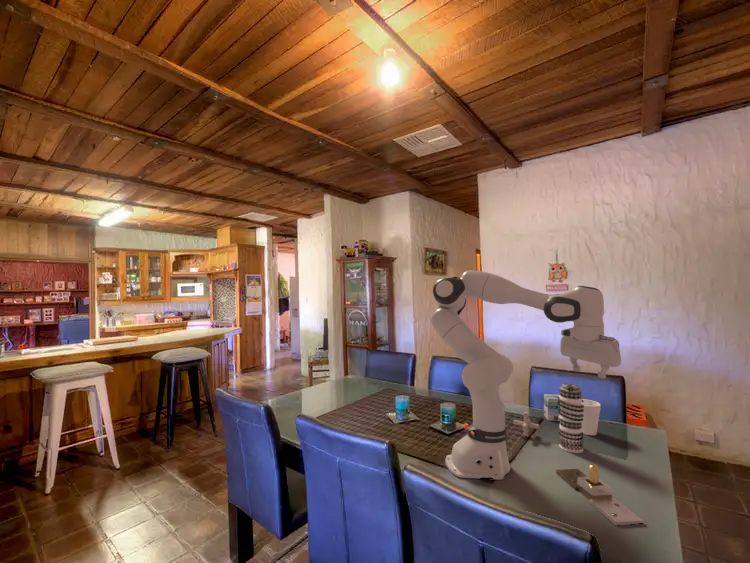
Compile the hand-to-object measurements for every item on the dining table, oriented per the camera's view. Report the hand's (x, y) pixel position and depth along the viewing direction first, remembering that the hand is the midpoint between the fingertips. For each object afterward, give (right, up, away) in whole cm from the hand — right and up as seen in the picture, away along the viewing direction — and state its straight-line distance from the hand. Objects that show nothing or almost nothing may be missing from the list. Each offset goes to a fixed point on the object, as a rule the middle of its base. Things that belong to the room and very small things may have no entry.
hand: (588, 374), depth 117 cm
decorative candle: (+5, -35, +20) cm, 41 cm away
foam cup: (+21, -35, +35) cm, 54 cm away
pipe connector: (-8, -35, +31) cm, 48 cm away
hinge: (-5, -35, -11) cm, 37 cm away
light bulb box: (+16, -35, +50) cm, 63 cm away
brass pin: (-5, -35, -11) cm, 37 cm away
